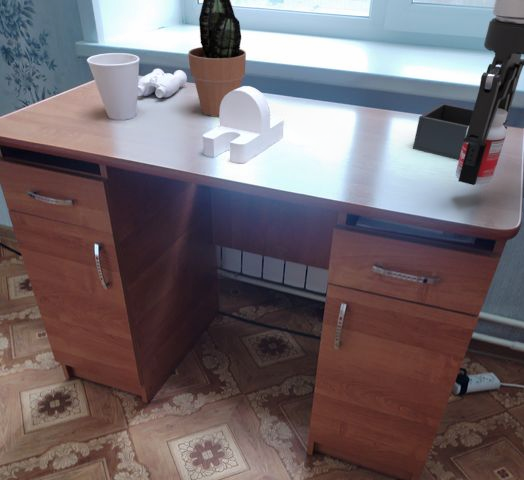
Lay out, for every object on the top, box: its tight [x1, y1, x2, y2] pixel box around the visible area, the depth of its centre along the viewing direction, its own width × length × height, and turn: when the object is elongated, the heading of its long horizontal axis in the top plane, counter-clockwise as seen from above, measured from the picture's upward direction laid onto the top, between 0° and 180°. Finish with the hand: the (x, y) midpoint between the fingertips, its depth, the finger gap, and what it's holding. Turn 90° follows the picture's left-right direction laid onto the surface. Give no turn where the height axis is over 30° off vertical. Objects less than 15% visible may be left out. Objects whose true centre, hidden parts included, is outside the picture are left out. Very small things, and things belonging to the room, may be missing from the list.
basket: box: [412, 102, 474, 161], centre depth 109 cm, size 13×13×7 cm
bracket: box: [202, 85, 285, 164], centre depth 106 cm, size 19×10×11 cm, turn 152°
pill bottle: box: [455, 108, 507, 185], centre depth 84 cm, size 6×6×11 cm
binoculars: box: [137, 68, 188, 99], centre depth 138 cm, size 10×16×5 cm, turn 168°
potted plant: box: [187, 0, 247, 117], centre depth 120 cm, size 14×14×25 cm
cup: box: [86, 52, 141, 121], centre depth 120 cm, size 12×12×12 cm
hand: (473, 175), depth 88 cm, fingers closed on pill bottle, 6 cm apart
